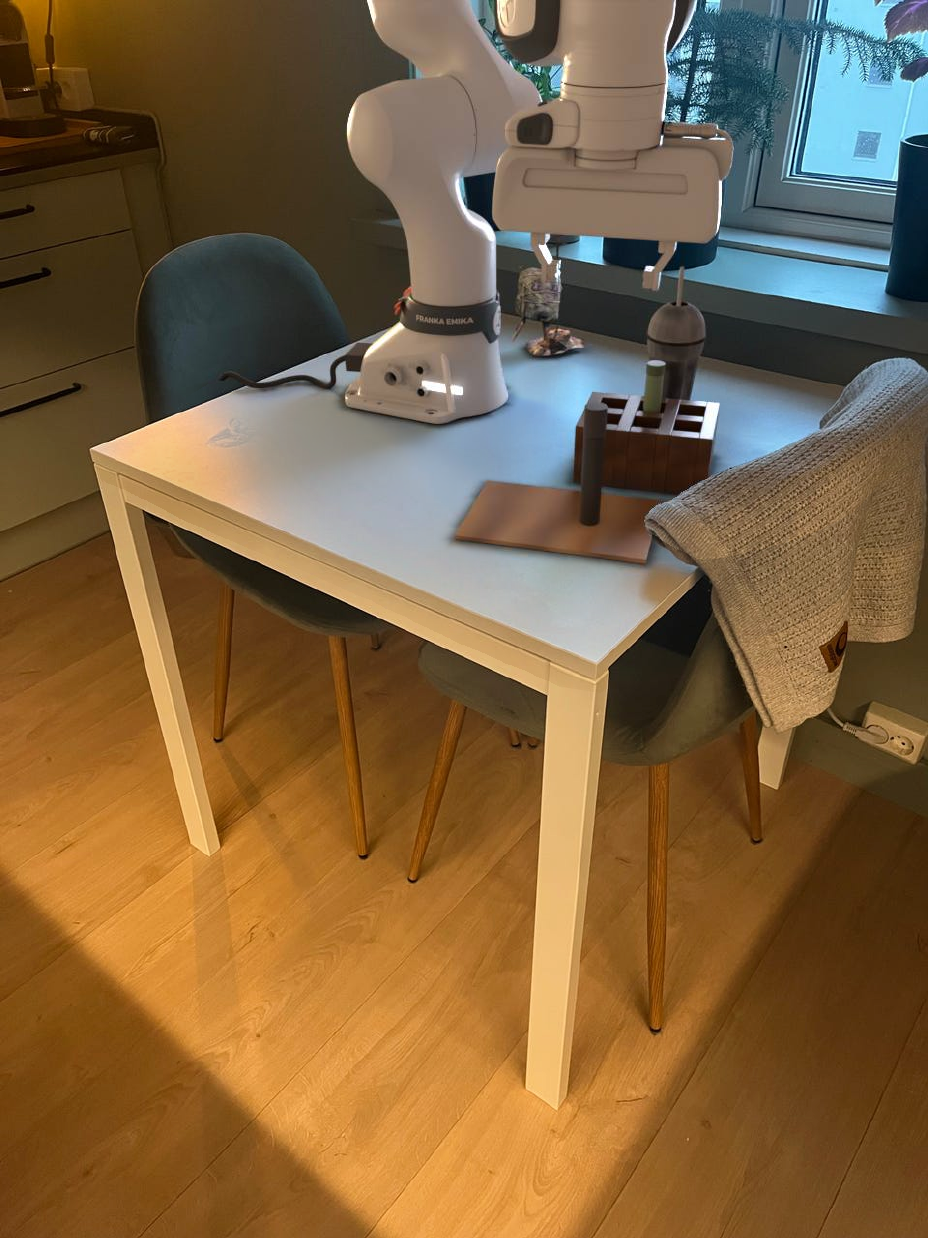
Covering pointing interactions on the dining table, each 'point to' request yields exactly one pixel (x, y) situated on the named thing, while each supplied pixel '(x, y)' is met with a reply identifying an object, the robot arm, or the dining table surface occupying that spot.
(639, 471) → the pen stand
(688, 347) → the beverage cup
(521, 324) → the mottled grey tall piece
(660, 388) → the sage marker
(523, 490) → the brown wooden board
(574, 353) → the dining table surface
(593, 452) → the black marker
